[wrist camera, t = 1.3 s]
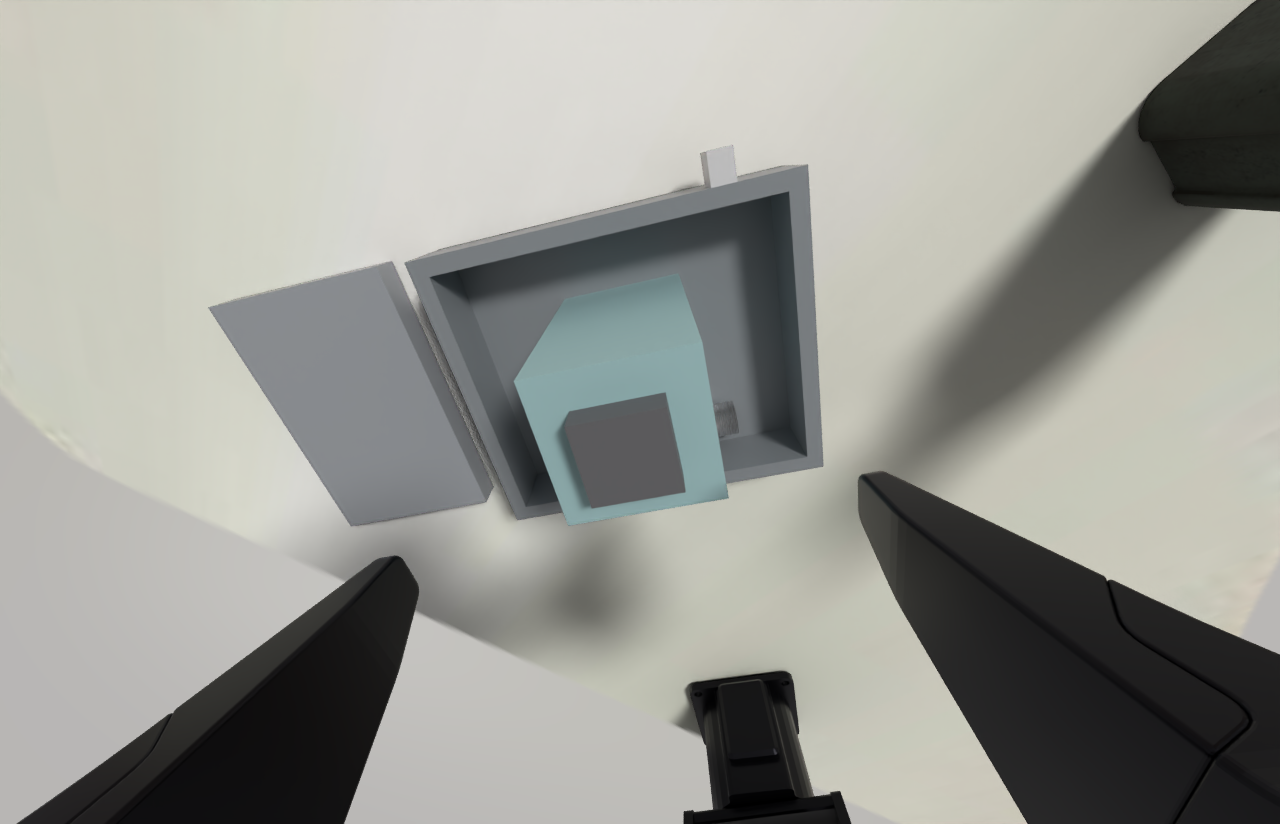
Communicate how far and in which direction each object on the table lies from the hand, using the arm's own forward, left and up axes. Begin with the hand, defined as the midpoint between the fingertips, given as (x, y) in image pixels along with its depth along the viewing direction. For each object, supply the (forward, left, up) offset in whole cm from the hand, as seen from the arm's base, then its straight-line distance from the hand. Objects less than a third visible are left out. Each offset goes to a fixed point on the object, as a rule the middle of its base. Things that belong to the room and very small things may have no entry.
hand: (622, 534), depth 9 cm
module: (0, 0, -11) cm, 11 cm away
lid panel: (0, +12, -12) cm, 17 cm away
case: (0, 0, -12) cm, 12 cm away
